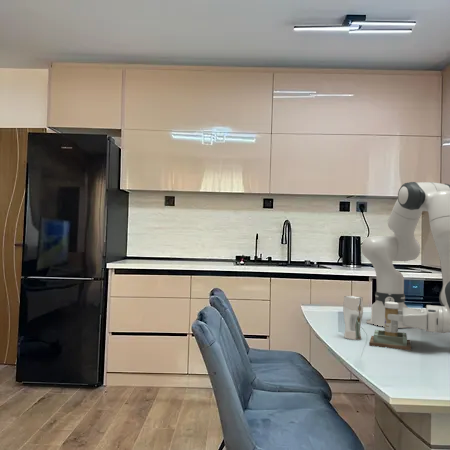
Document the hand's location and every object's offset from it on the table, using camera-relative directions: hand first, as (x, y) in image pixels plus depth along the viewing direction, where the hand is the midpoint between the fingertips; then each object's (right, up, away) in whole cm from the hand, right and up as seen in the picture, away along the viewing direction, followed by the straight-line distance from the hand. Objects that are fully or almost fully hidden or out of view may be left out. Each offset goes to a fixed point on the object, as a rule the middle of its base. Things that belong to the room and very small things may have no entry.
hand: (387, 314), depth 147 cm
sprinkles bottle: (+1, -9, -1) cm, 9 cm away
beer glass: (-10, -10, +7) cm, 16 cm away
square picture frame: (0, -10, -1) cm, 10 cm away
